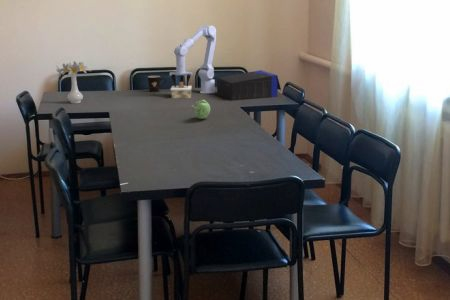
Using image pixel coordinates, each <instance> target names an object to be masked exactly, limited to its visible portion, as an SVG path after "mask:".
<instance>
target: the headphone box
mask: <svg viewBox="0 0 450 300" xmlns="http://www.w3.org/2000/svg"><path fill="white" fill-rule="evenodd" d="M280 84H281V83H280V80H279V76H278V75H277V74H275V73H271V72H268V71H265V70H261V69H260V70H254V71H249V72H242V73H236V74H231V75H225V76H219V77H216V94H217V95H218V96H221V98H225V99H227V100H229V101H231V102H232V101H245V100H255V99H269V98H277V97H278V91H282V88H281V85H280Z"/></svg>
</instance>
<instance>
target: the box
mask: <svg viewBox="0 0 450 300" xmlns="http://www.w3.org/2000/svg"><path fill="white" fill-rule="evenodd" d="M191 98H192V89H191V90H178V91H171V99H191Z"/></svg>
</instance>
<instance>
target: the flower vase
mask: <svg viewBox="0 0 450 300" xmlns="http://www.w3.org/2000/svg"><path fill="white" fill-rule="evenodd" d="M72 63H73V64H72ZM55 67H56V72H57V73H58V77H59V78H60V77H61V76H63V75H65V74H66V73H68V74H67V75H69V76H70V77H71V80H70V81H71V90H70V92H69V93H68V94H67V97H66V98H67V100H68V101H70V103H71V104H79V103H82V102H81V101H82V100H83V98H84V95H83V93H82V92H81V91H79V88H78V81H77V77H78V73H79V72H83V73H85V74H87V71H86V70H87V69H88V66H87V65H84V62H83V61H81V62H78V63H77V62H76V61H72V62H71V61H69V63H62V68H60V67H59V66H58V65H55Z"/></svg>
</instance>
